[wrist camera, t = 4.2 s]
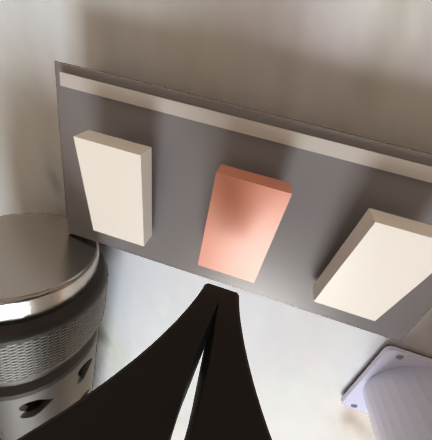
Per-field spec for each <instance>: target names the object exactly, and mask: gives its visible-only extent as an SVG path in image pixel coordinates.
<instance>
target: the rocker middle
mask: <svg viewBox="0 0 432 440" xmlns="http://www.w3.org/2000/svg"><path fill="white" fill-rule="evenodd" d="M291 196H292V184H291V183H288V182H284V181H280V180H277V179H273V178H270V177H266V176H262V175H259V174H255V173H252V172H248V171H244V170H241V169H237V168H234V167H230V166H226V165H223V164H221V166H220V167H219V169H218V170H217V172H216V176H215V181H214V186H213V191H212V196H211V201H210V206H209V211H208V216H207V221H206V226H205V231H204V236H203V241H202V246H201V251H200V256H199V261H198V265H200V266H203V267H206V268H209V269H212V270H215V271H218V272H221V273H224V274H227V275H231V276H234V277H237V278H240V279H243V280H246V281H249V282H252V283H254V282H255V279H256V277H257V275H258V272H259V270H260V268H261V265H262V263H263V261H264V258H265V256H266V254H267V251H268V249H269V247H270V244H271V242H272V240H273V237H274V235H275V233H276V230H277V228H278V226H279V224H280V221H281V219H282V217H283V214H284V212H285V210H286V207H287V205H288V203H289V200H290V198H291Z"/></svg>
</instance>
